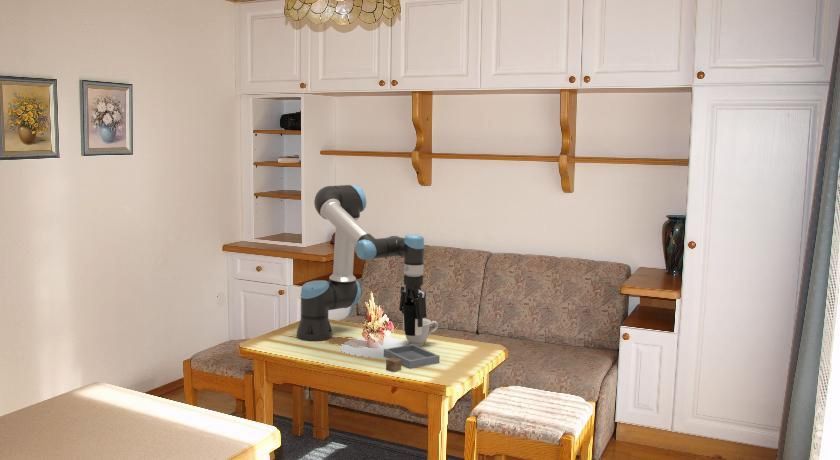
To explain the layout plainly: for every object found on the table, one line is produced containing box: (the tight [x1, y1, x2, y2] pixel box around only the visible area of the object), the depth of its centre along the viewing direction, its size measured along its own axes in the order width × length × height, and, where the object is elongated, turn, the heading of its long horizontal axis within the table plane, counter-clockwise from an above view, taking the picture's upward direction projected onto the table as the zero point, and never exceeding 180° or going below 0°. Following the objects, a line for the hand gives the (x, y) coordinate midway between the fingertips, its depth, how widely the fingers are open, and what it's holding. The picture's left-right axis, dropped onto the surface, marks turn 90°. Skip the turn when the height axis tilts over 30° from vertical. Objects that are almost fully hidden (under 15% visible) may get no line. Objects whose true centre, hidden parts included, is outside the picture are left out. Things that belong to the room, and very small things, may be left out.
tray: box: [383, 344, 440, 369], centre depth 300 cm, size 18×14×3 cm
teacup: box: [405, 318, 439, 347], centre depth 321 cm, size 12×15×10 cm
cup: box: [402, 301, 420, 336], centre depth 298 cm, size 8×8×12 cm
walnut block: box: [385, 358, 402, 373], centre depth 287 cm, size 4×4×4 cm
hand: (412, 332), depth 299 cm, fingers closed on cup, 8 cm apart
